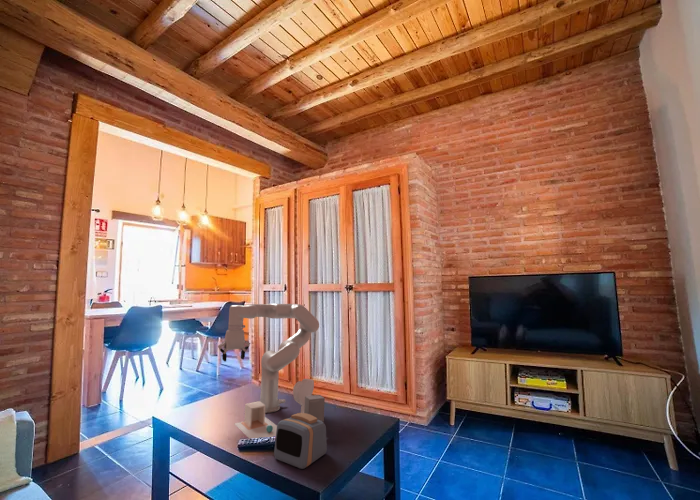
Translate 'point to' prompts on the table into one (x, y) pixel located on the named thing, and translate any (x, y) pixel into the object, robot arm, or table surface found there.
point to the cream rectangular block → (254, 413)
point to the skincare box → (315, 406)
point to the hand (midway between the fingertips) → (233, 359)
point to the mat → (257, 429)
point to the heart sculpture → (303, 391)
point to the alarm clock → (300, 440)
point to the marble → (269, 428)
